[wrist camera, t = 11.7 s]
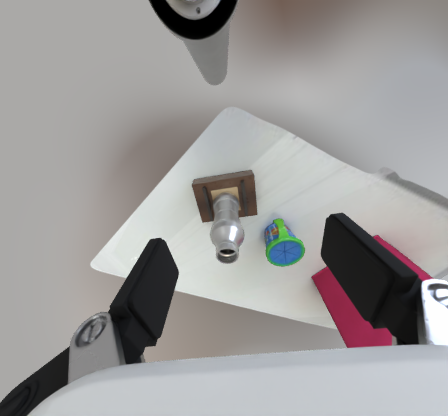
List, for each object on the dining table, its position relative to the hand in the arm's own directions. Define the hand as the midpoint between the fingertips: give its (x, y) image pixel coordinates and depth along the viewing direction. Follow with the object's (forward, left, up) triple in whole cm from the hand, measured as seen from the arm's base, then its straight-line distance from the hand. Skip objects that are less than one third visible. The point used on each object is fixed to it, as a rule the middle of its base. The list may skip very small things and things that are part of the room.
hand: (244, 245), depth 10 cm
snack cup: (+29, +11, -36) cm, 48 cm away
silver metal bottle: (+13, -3, -32) cm, 35 cm away
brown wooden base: (+13, -3, -36) cm, 39 cm away
